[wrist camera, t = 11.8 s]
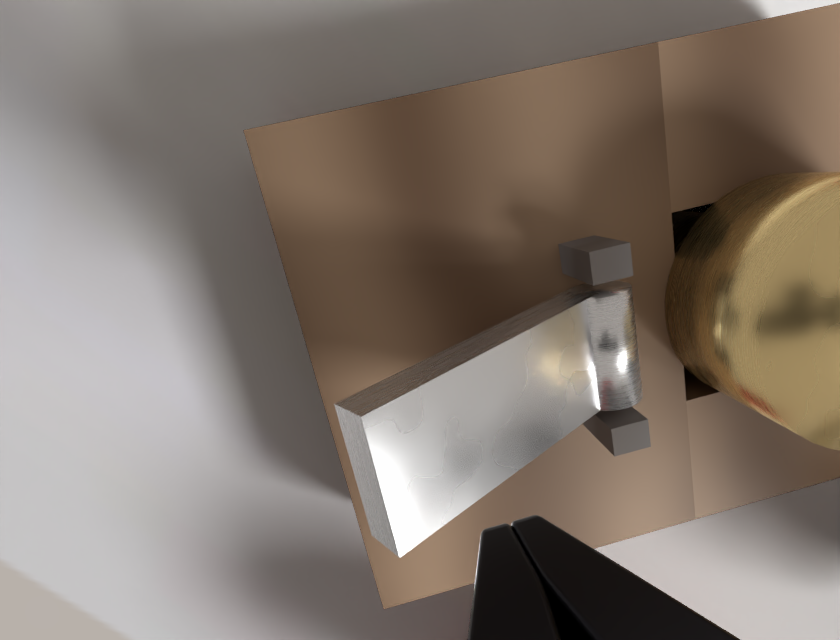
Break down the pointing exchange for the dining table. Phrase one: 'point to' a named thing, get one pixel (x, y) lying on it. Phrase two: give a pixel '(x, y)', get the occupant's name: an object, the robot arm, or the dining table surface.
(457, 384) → the latch bar
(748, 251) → the brass pin
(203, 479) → the dining table surface
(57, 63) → the dining table surface
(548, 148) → the brown rectangular block
